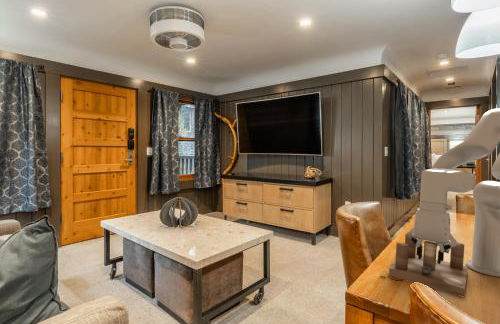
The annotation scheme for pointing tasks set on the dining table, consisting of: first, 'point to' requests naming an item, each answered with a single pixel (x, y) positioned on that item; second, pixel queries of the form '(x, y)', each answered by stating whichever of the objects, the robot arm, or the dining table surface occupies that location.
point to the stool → (441, 277)
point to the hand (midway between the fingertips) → (429, 259)
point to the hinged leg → (429, 257)
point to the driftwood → (444, 244)
